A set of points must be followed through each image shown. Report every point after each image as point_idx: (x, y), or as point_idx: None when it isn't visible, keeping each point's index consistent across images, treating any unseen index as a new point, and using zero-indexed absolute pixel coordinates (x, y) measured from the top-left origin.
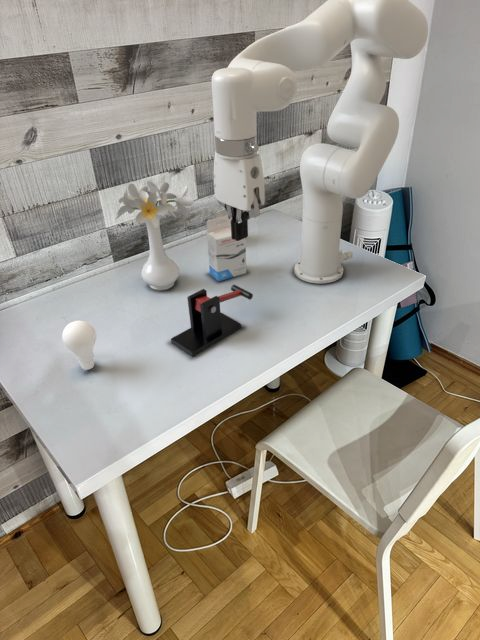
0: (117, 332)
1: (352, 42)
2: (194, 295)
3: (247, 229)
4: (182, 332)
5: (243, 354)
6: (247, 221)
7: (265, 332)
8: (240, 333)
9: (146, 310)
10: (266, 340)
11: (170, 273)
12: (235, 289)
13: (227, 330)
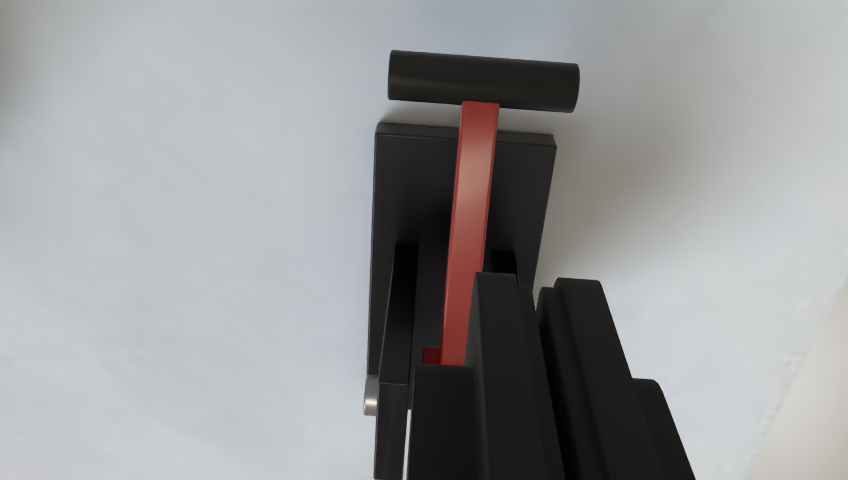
0: (142, 454)
1: None
2: (396, 453)
3: (619, 352)
4: (369, 356)
5: (688, 276)
6: (658, 465)
7: (692, 81)
8: (577, 169)
9: (62, 303)
10: (734, 133)
11: None
12: (434, 101)
13: (534, 231)
